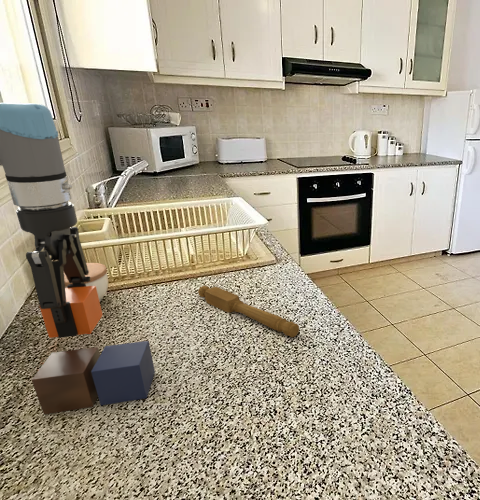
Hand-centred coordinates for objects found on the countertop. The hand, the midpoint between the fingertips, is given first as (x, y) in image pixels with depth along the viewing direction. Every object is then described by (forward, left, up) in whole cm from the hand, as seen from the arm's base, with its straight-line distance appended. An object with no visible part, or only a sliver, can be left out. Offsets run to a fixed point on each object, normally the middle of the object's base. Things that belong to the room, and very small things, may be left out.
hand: (76, 324), depth 69 cm
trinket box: (-6, +19, -5) cm, 20 cm away
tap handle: (+30, +5, -5) cm, 31 cm away
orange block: (0, 0, 0) cm, 0 cm away
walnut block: (+4, -14, -5) cm, 16 cm away
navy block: (+11, -14, -5) cm, 19 cm away
